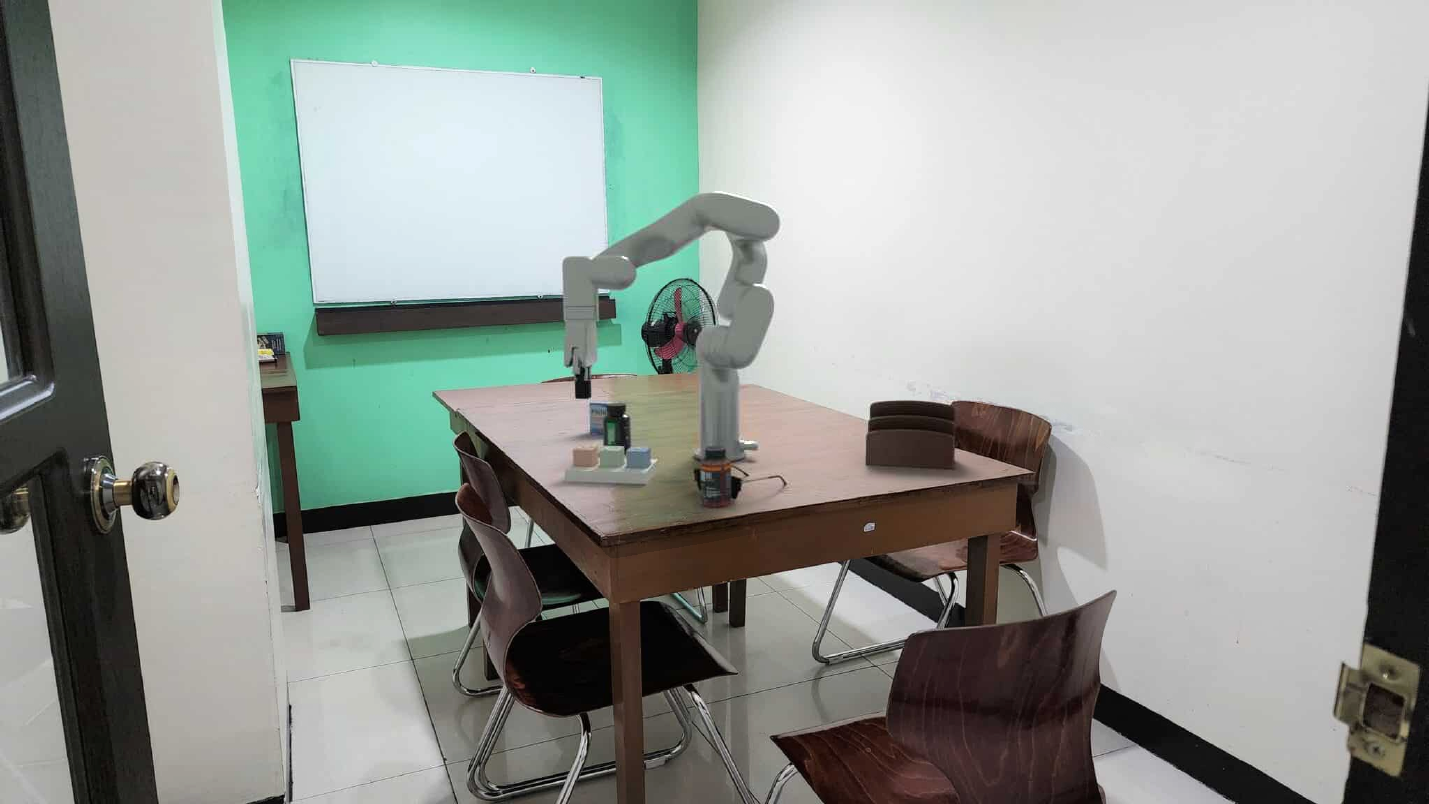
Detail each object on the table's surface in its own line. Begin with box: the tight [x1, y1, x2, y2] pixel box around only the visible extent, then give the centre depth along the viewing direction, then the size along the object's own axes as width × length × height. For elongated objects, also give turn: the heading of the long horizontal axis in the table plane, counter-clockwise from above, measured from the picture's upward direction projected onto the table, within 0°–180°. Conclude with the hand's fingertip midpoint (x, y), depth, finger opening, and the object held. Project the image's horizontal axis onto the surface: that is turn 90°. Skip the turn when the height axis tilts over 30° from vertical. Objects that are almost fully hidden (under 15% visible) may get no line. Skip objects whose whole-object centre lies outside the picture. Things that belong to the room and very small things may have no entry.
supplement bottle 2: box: [700, 446, 733, 509], centre depth 168 cm, size 6×6×11 cm
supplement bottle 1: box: [602, 402, 632, 455], centre depth 213 cm, size 7×7×12 cm
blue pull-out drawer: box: [625, 446, 652, 469], centre depth 190 cm, size 4×4×4 cm
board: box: [564, 457, 659, 485], centre depth 191 cm, size 18×12×2 cm, turn 81°
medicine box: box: [589, 400, 623, 435], centre depth 236 cm, size 8×4×9 cm, turn 73°
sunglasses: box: [692, 464, 788, 500], centre depth 181 cm, size 14×16×5 cm
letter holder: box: [865, 399, 957, 470], centre depth 200 cm, size 10×20×14 cm, turn 75°
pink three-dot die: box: [572, 444, 599, 467], centre depth 191 cm, size 4×4×4 cm
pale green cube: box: [598, 446, 625, 468], centre depth 190 cm, size 4×4×4 cm
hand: (583, 398), depth 189 cm, fingers closed
